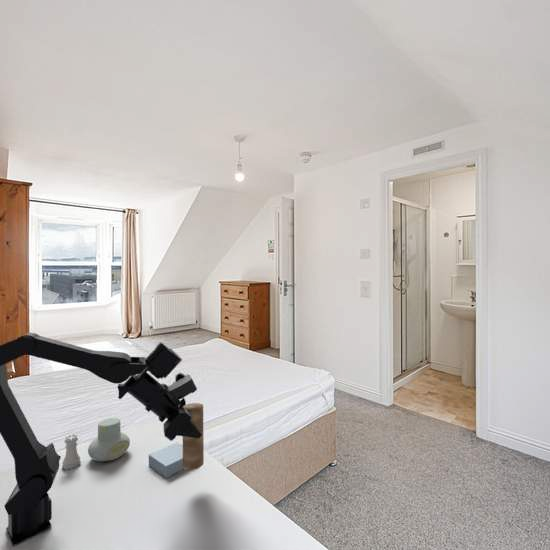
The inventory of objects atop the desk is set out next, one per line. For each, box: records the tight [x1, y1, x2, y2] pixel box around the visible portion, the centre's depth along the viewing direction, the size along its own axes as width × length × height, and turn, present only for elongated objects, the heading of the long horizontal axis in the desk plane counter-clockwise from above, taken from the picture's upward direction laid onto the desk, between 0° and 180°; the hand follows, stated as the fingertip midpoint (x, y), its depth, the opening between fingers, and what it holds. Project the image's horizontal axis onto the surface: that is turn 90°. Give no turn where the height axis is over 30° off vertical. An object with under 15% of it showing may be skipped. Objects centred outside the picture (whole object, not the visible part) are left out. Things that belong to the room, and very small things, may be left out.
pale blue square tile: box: [148, 442, 186, 479], centre depth 92 cm, size 9×9×3 cm
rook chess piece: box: [61, 434, 82, 471], centre depth 92 cm, size 4×4×8 cm
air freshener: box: [87, 417, 131, 462], centre depth 97 cm, size 11×8×10 cm
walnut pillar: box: [182, 402, 205, 471], centre depth 82 cm, size 5×5×14 cm
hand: (198, 431), depth 82 cm, fingers closed on walnut pillar, 5 cm apart
